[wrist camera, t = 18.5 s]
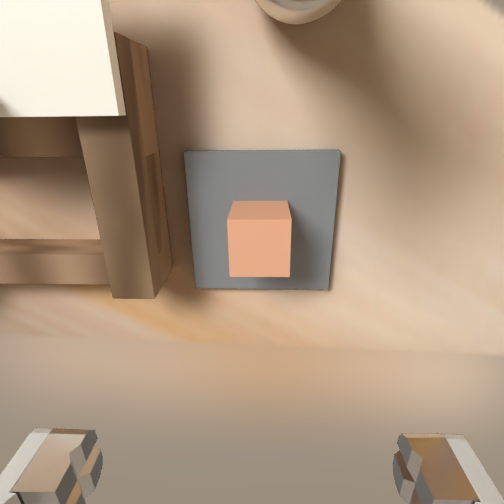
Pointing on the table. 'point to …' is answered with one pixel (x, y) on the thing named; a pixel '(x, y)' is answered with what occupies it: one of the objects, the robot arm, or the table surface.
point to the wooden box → (101, 192)
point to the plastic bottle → (297, 9)
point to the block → (259, 239)
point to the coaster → (263, 189)
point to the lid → (58, 59)
